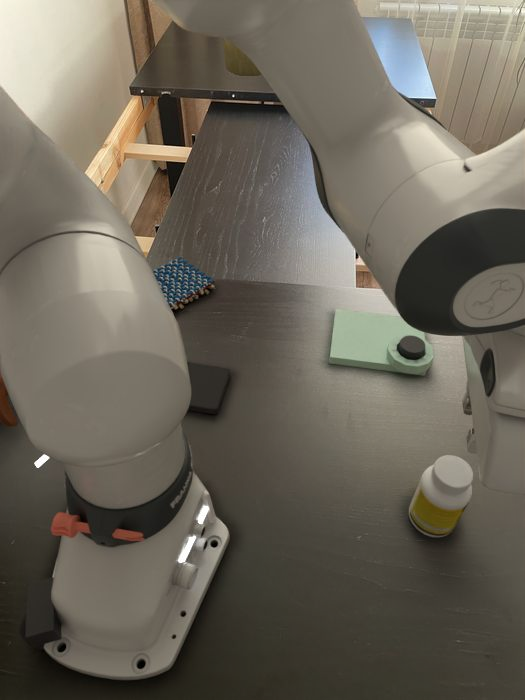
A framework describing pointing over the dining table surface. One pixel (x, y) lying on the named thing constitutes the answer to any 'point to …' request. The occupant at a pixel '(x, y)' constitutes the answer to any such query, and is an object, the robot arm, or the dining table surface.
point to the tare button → (411, 347)
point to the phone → (207, 387)
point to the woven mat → (181, 282)
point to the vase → (238, 61)
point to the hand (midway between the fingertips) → (473, 428)
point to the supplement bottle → (441, 496)
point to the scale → (375, 343)
